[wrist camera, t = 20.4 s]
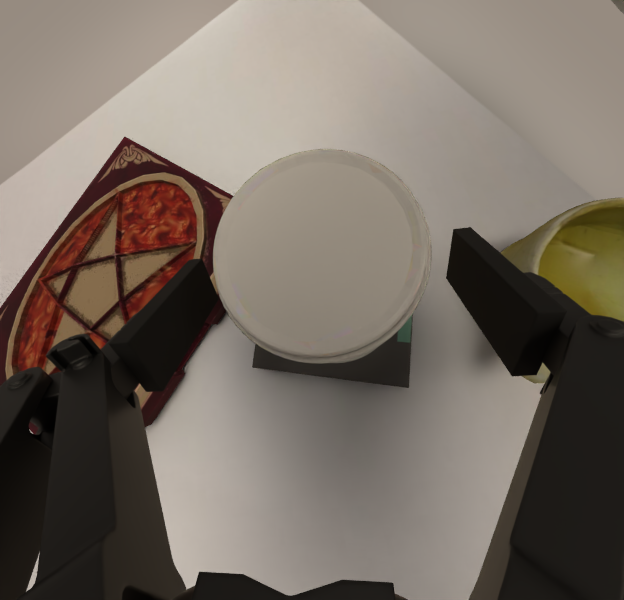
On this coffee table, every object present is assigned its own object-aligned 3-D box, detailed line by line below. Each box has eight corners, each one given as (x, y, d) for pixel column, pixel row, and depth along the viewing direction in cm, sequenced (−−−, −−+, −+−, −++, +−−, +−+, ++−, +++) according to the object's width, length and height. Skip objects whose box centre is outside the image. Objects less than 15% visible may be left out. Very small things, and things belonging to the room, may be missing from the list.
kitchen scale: (410, 242, 26) (419, 227, 23) (403, 383, 24) (411, 389, 20) (279, 236, 28) (269, 222, 25) (261, 365, 26) (248, 368, 23)
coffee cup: (262, 329, 23) (169, 310, 11) (305, 231, 24) (259, 119, 12) (367, 374, 21) (384, 408, 9) (409, 266, 22) (471, 174, 10)
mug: (534, 190, 23) (682, 148, 13) (606, 277, 24) (795, 299, 14) (419, 288, 25) (473, 315, 16) (489, 364, 26) (581, 435, 16)
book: (143, 155, 33) (106, 121, 28) (282, 232, 28) (266, 207, 23) (1, 354, 31) (-65, 354, 26) (121, 476, 26) (67, 505, 21)
